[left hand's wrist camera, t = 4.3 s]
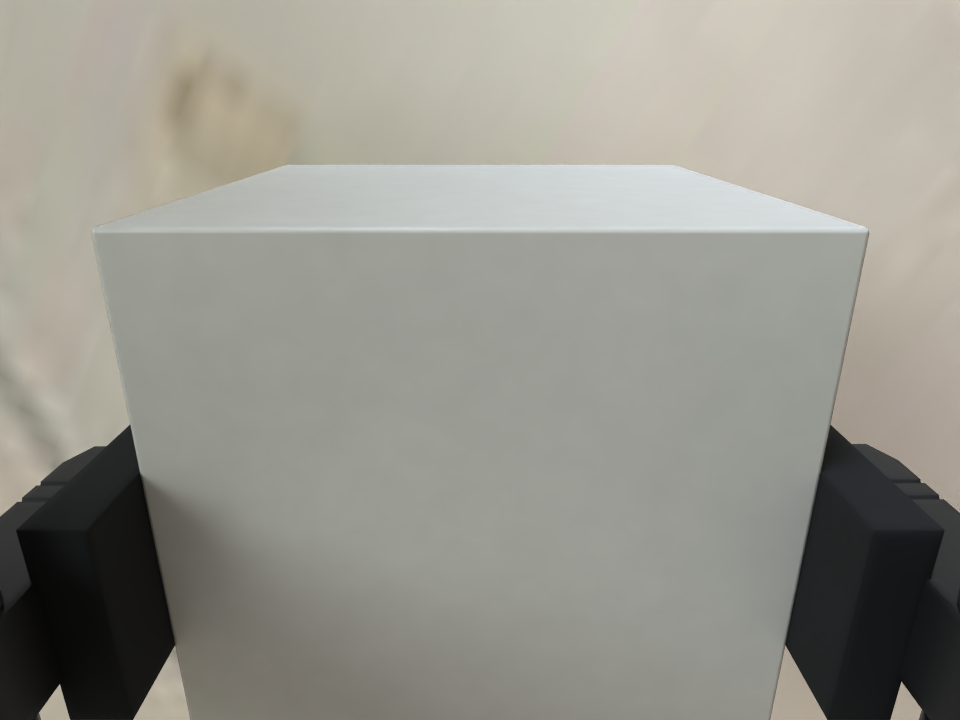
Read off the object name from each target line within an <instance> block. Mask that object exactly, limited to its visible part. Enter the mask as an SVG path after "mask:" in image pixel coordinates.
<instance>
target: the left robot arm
mask: <svg viewBox="0 0 960 720" xmlns="http://www.w3.org/2000/svg"><path fill="white" fill-rule="evenodd" d="M785 645H786V647H787V649H788V650H789V652H790V654H791V656H792V657H793V659H794V661H795V663H796V665H797V666H798V668H799V670H800V672H801V673H802V675H803V677H804V679H805V681H806V682H807V684H808V686H809V688H810V689H811V691H812V693H813V695H814V697H815V698H816V700H817V702H818V704H819V706H820V707H821V709H822V711H823V713H824V714H825V716H826V718H827V720H890V719H891V715H892V712H893V708H894V705H895V701H896V698H897V694H898V691H899V687H900V684H901V681H902V682H903V684H904V685H905V687H906V688H907V689H908V691H909V692H910V693H911V695H912V696H913V698H914V699H915V700H916V702H917V703H918V704H919V706H920V707H921V709H922V712H921V715H920V718H919V720H960V513H959V512H958V511H957V510H956V509H954V508H953V507H952V506H951V505H950V504H949V503H947V502H946V501H945V500H944V499H939V495H938V494H937V493H936V492H935V491H933V490H932V489H931V488H930V487H929V486H928V485H926V484H925V483H921V482H920V479H919V478H918V477H917V476H916V475H915V474H914V473H912V472H911V471H910V470H909V469H908V468H907V467H905V466H904V465H903V464H902V463H901V462H900V461H898V460H897V459H895V458H893V457H891V456H889V455H887V454H885V453H883V452H881V451H879V450H877V449H875V448H873V447H871V446H869V445H867V444H851V443H850V442H849V441H847V440H846V439H845V438H844V437H843V436H842V435H841V434H840V433H839V432H838V431H837V430H836V429H834V428H833V427H832V426H831V425H830V428H829V433H828V438H827V443H826V448H825V453H824V458H823V463H822V467H821V472H820V477H819V482H818V487H817V492H816V497H815V502H814V507H813V512H812V516H811V521H810V526H809V531H808V536H807V541H806V546H805V551H804V556H803V561H802V565H801V570H800V575H799V580H798V585H797V590H796V595H795V600H794V605H793V610H792V615H791V619H790V624H789V629H788V634H787V639H786V644H785ZM174 646H175V641H174V636H173V632H172V627H171V622H170V617H169V612H168V607H167V602H166V597H165V592H164V587H163V582H162V577H161V573H160V568H159V563H158V558H157V553H156V548H155V543H154V538H153V533H152V528H151V523H150V519H149V514H148V509H147V504H146V499H145V494H144V489H143V484H142V479H141V474H140V469H139V465H138V460H137V455H136V450H135V445H134V440H133V435H132V430H131V425H129V426H128V427H127V428H126V429H125V430H124V431H123V432H122V433H121V434H120V435H118V436H117V437H116V438H115V439H114V440H113V441H112V442H111V443H110V444H109V445H108V446H95V447H93V448H91V449H89V450H87V451H85V452H83V453H81V454H79V455H77V456H75V457H73V458H71V459H69V460H67V461H65V462H63V463H62V464H61V465H60V466H59V467H57V468H56V469H55V470H54V471H53V472H52V473H50V474H49V475H48V476H47V477H46V478H45V479H44V480H42V481H41V485H40V486H35V487H34V488H33V489H32V490H31V491H30V492H28V493H27V494H26V495H25V496H24V497H23V498H22V502H17V503H16V504H15V505H13V506H12V507H11V508H10V509H9V510H8V511H6V512H5V513H4V514H3V515H2V516H1V517H0V720H41V718H40V715H39V712H40V710H41V709H42V708H43V706H44V705H45V703H46V702H47V701H48V699H49V698H50V697H51V695H52V694H53V692H54V691H55V690H56V688H57V687H58V685H59V684H60V685H61V689H62V692H63V696H64V699H65V703H66V706H67V710H68V713H69V717H70V720H133V719H134V717H135V715H136V713H137V712H138V710H139V708H140V706H141V705H142V703H143V701H144V699H145V697H146V696H147V694H148V692H149V690H150V689H151V687H152V685H153V683H154V681H155V680H156V678H157V676H158V674H159V673H160V671H161V669H162V667H163V665H164V664H165V662H166V660H167V658H168V657H169V655H170V653H171V651H172V649H173V648H174Z"/></svg>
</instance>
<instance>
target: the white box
mask: <svg viewBox="0 0 960 720" xmlns="http://www.w3.org/2000/svg"><path fill="white" fill-rule="evenodd" d="M868 237H869V230H868V228H866V227H864V226H861V225H858V224H855V223H852V222H849V221H846V220H843V219H839V218H836V217H833V216H830V215H827V214H824V213H821V212H818V211H815V210H812V209H809V208H805V207H802V206H799V205H796V204H793V203H790V202H787V201H784V200H781V199H778V198H774V197H771V196H768V195H765V194H762V193H759V192H756V191H753V190H750V189H747V188H744V187H740V186H737V185H734V184H731V183H728V182H725V181H722V180H719V179H716V178H713V177H709V176H706V175H703V174H700V173H697V172H694V171H691V170H688V169H685V168H682V167H679V166H675V165H285V166H282V167H279V168H276V169H273V170H269V171H266V172H263V173H260V174H257V175H254V176H251V177H248V178H245V179H242V180H239V181H235V182H232V183H229V184H226V185H223V186H220V187H217V188H214V189H211V190H208V191H205V192H202V193H198V194H195V195H192V196H189V197H186V198H183V199H180V200H177V201H174V202H171V203H168V204H164V205H161V206H158V207H155V208H152V209H149V210H146V211H143V212H140V213H137V214H134V215H130V216H127V217H124V218H121V219H118V220H115V221H112V222H109V223H106V224H103V225H100V226H97V227H95V228H93V229H92V239H93V243H94V248H95V253H96V258H97V263H98V268H99V273H100V278H101V283H102V288H103V293H104V298H105V302H106V307H107V312H108V317H109V322H110V327H111V332H112V337H113V342H114V347H115V352H116V356H117V361H118V366H119V371H120V376H121V381H122V386H123V391H124V396H125V401H126V406H127V410H128V415H129V420H130V425H131V430H132V435H133V440H134V445H135V450H136V455H137V460H138V465H139V469H140V474H141V479H142V484H143V489H144V494H145V499H146V504H147V509H148V514H149V519H150V523H151V528H152V533H153V538H154V543H155V548H156V553H157V558H158V563H159V568H160V573H161V577H162V582H163V587H164V592H165V597H166V602H167V607H168V612H169V617H170V622H171V627H172V632H173V636H174V641H175V646H176V651H177V656H178V661H179V666H180V671H181V676H182V681H183V686H184V690H185V695H186V700H187V705H188V710H189V715H190V720H770V718H771V713H772V708H773V703H774V698H775V693H776V688H777V683H778V678H779V673H780V668H781V664H782V659H783V654H784V649H785V644H786V639H787V634H788V629H789V624H790V619H791V615H792V610H793V605H794V600H795V595H796V590H797V585H798V580H799V575H800V570H801V565H802V561H803V556H804V551H805V546H806V541H807V536H808V531H809V526H810V521H811V516H812V512H813V507H814V502H815V497H816V492H817V487H818V482H819V477H820V472H821V467H822V463H823V458H824V453H825V448H826V443H827V438H828V433H829V428H830V423H831V418H832V413H833V409H834V404H835V399H836V394H837V389H838V384H839V379H840V374H841V369H842V364H843V360H844V355H845V350H846V345H847V340H848V335H849V330H850V325H851V320H852V315H853V310H854V306H855V301H856V296H857V291H858V286H859V281H860V276H861V271H862V266H863V261H864V257H865V252H866V247H867V242H868Z"/></svg>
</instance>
